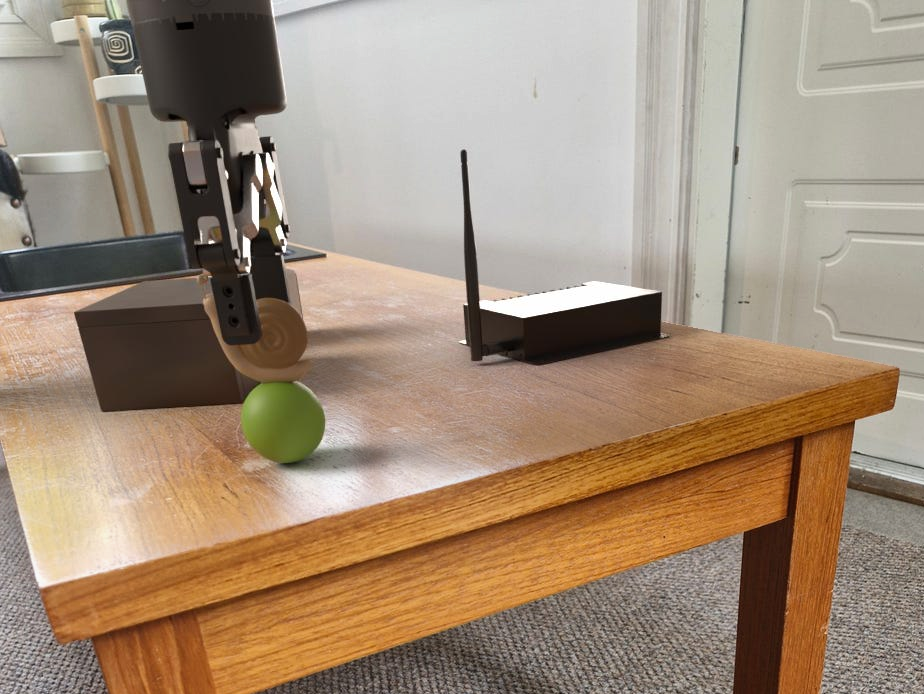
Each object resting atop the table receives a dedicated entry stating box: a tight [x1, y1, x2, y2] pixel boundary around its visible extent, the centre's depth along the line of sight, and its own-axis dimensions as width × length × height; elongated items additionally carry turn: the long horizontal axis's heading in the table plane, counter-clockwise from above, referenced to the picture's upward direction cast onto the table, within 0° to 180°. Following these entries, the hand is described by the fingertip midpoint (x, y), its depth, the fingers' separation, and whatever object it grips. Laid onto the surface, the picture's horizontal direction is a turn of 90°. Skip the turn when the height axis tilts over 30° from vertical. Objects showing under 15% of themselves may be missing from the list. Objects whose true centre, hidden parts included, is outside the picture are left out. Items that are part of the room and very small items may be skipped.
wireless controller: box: [459, 148, 672, 366], centre depth 83 cm, size 20×14×17 cm
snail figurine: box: [196, 272, 326, 464], centre depth 57 cm, size 5×6×12 cm
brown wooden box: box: [73, 277, 261, 412], centre depth 80 cm, size 12×16×8 cm
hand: (260, 328), depth 56 cm, fingers open, 8 cm apart
